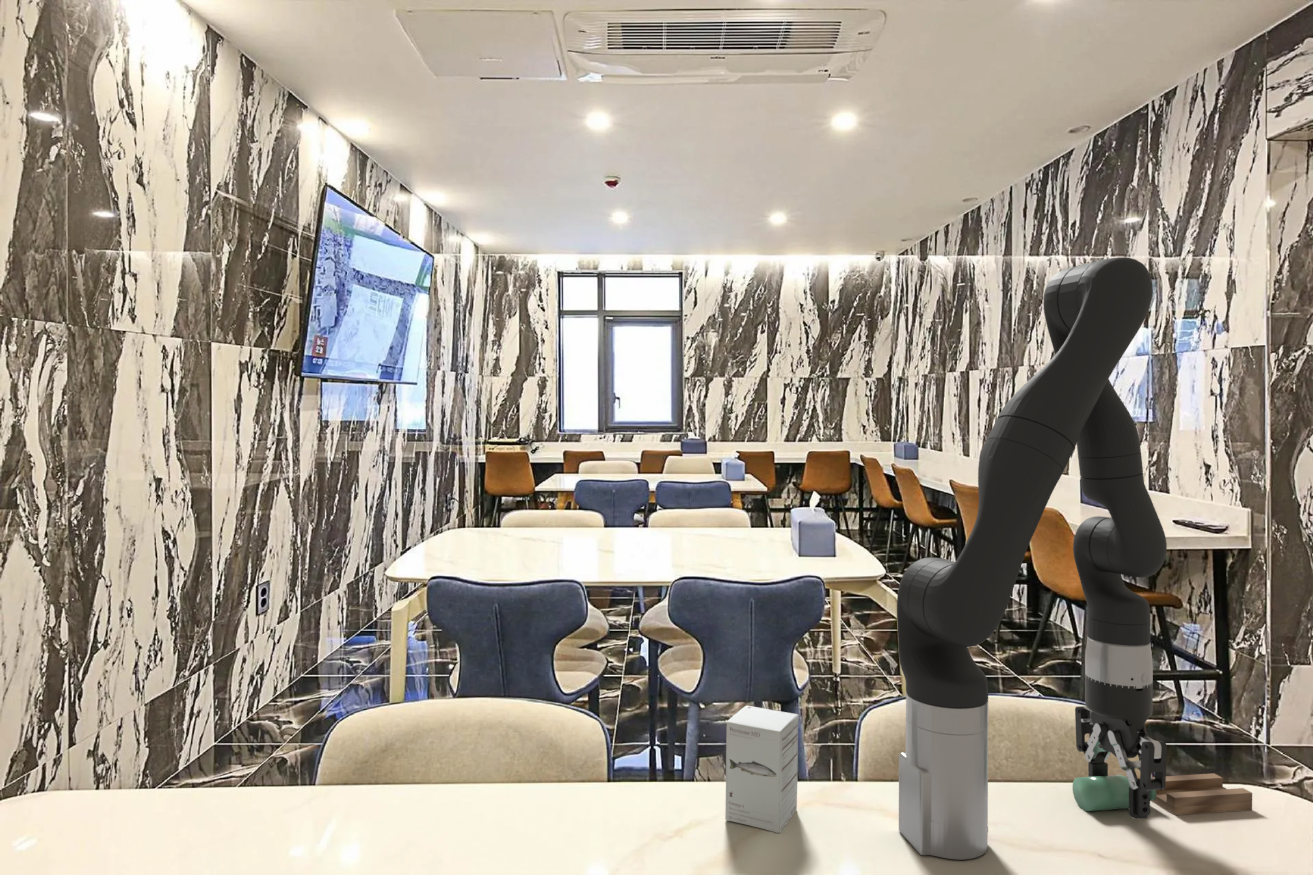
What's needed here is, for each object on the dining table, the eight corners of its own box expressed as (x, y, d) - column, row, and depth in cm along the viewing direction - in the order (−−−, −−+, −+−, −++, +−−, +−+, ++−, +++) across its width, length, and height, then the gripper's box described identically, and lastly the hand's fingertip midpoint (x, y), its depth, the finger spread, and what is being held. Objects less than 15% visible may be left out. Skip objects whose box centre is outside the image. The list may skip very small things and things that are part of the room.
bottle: (1096, 803, 102) (1082, 772, 105) (1082, 815, 105) (1068, 784, 108) (1165, 799, 103) (1149, 768, 106) (1148, 811, 106) (1133, 780, 109)
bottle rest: (1174, 814, 103) (1174, 797, 103) (1140, 794, 109) (1140, 777, 109) (1252, 809, 105) (1252, 792, 104) (1214, 789, 110) (1214, 773, 110)
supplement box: (723, 821, 101) (723, 720, 101) (745, 798, 108) (745, 703, 108) (780, 835, 98) (780, 730, 98) (799, 810, 104) (799, 712, 104)
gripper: (1056, 660, 110) (1055, 781, 110) (1131, 693, 96) (1131, 833, 96) (1106, 657, 111) (1106, 778, 111) (1188, 691, 97) (1188, 829, 97)
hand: (1118, 803), depth 104 cm, fingers open, 7 cm apart
